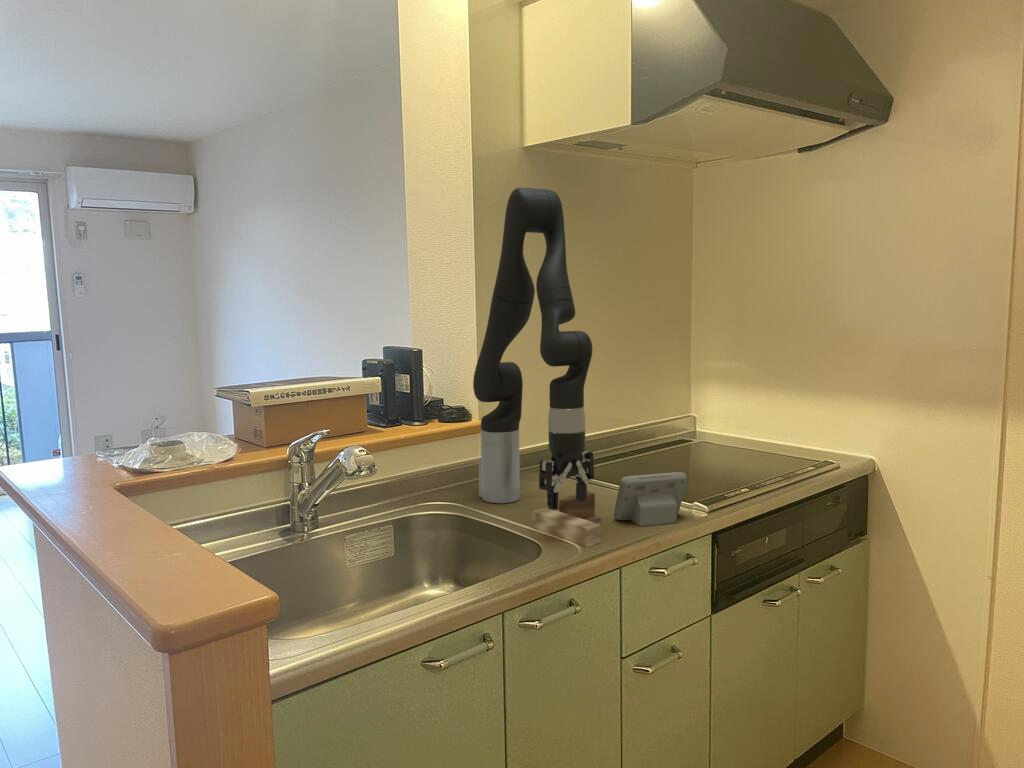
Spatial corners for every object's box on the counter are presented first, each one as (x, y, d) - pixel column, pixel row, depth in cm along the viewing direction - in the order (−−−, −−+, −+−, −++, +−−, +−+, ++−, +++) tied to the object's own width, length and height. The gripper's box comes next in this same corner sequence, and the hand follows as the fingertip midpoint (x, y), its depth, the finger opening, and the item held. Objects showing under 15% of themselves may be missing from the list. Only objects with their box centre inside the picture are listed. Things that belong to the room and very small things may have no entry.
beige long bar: (532, 529, 168) (532, 511, 167) (545, 525, 170) (545, 507, 170) (587, 548, 156) (587, 528, 155) (600, 543, 159) (600, 524, 158)
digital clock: (679, 512, 178) (681, 467, 176) (692, 525, 169) (693, 477, 168) (610, 514, 177) (610, 469, 175) (618, 527, 168) (619, 479, 166)
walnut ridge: (553, 523, 171) (553, 497, 170) (580, 514, 177) (580, 489, 176) (573, 529, 166) (573, 503, 165) (600, 520, 172) (601, 495, 172)
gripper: (576, 421, 167) (576, 495, 169) (529, 430, 158) (530, 508, 160) (603, 425, 162) (603, 501, 164) (556, 435, 152) (557, 516, 154)
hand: (567, 505), depth 162 cm, fingers open, 8 cm apart
